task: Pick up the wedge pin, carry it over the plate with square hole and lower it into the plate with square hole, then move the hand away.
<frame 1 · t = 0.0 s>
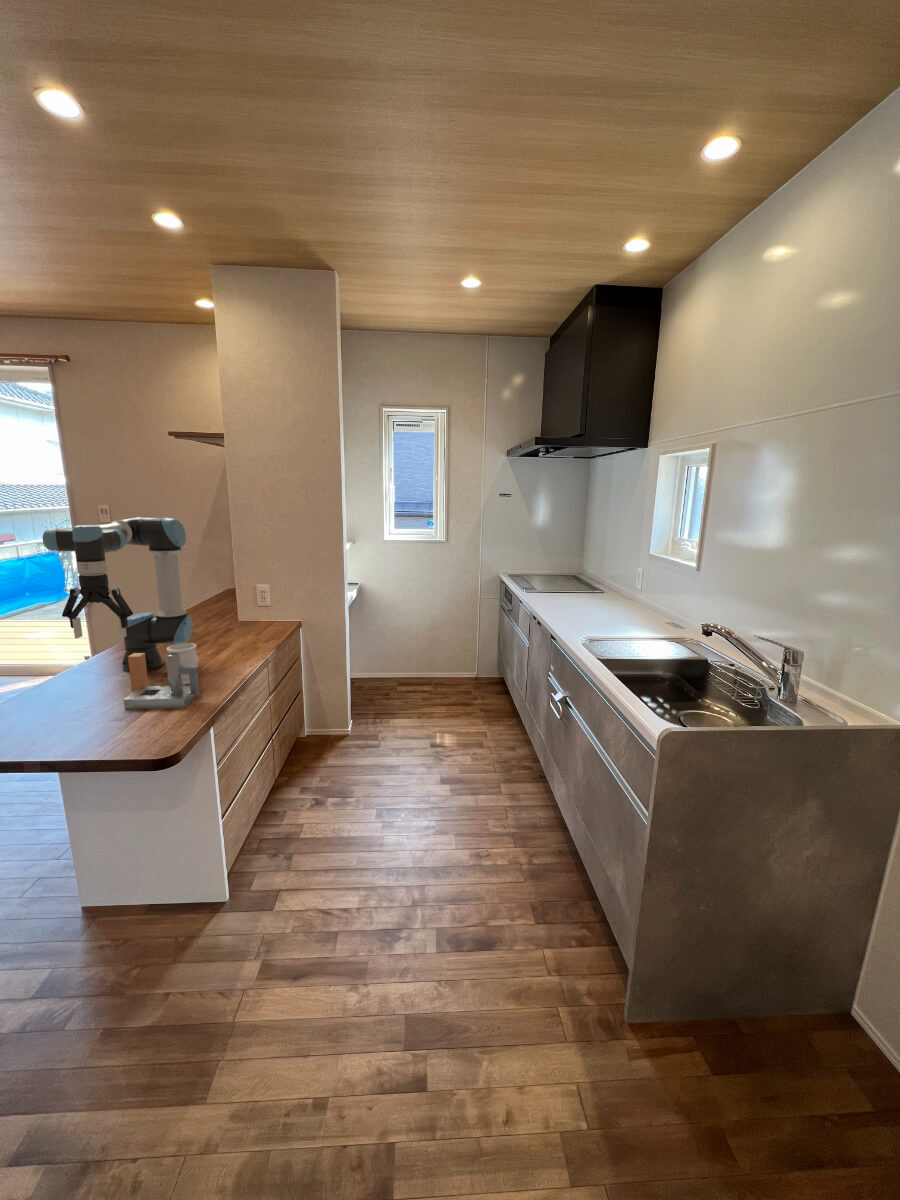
hand: (101, 637, 157), 28 cm above the worktop, fingers open, 13 cm apart
plate with square hole: (165, 701, 175), on the worktop
wedge pin: (140, 691, 182), on the worktop
jar: (184, 682, 194), on the worktop
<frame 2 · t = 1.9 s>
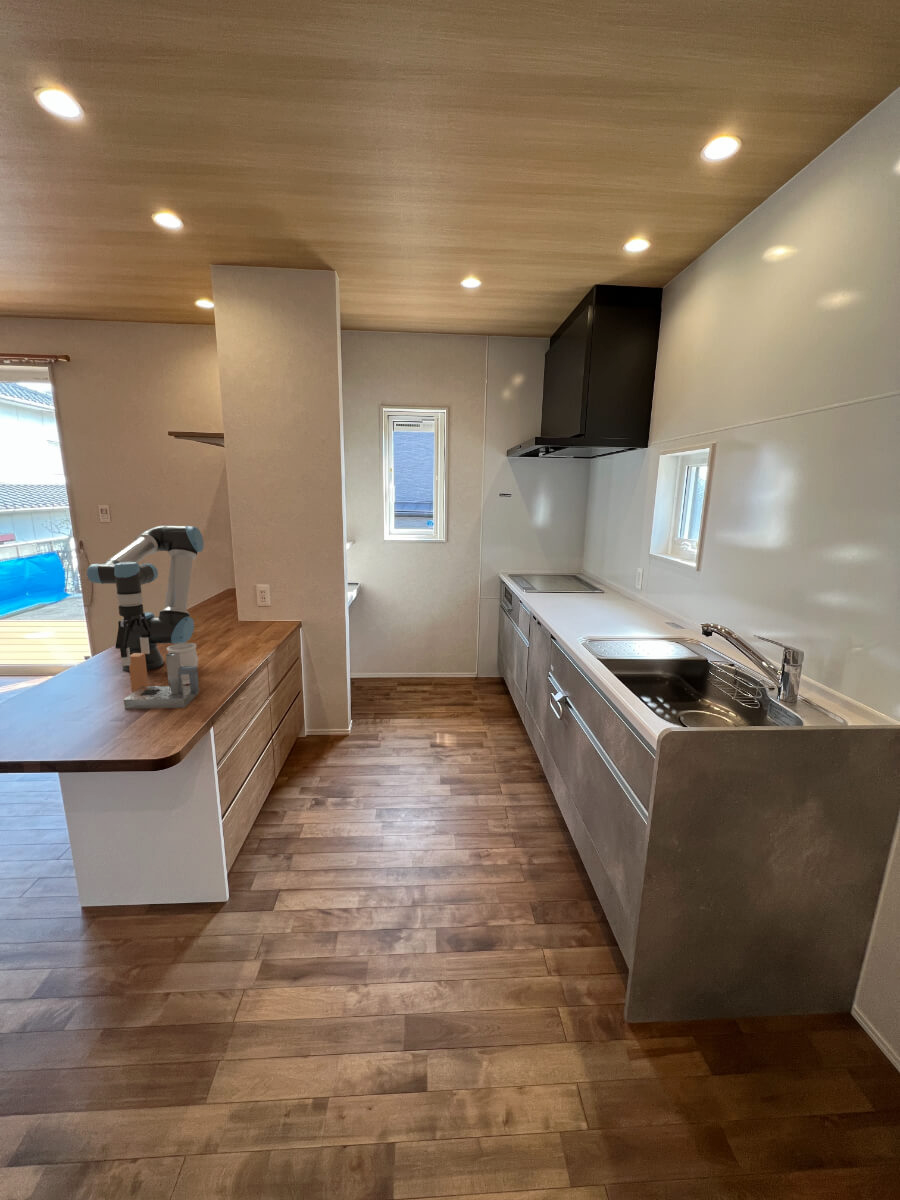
hand: (136, 659, 179), 13 cm above the worktop, fingers open, 13 cm apart
nothing on the worktop moved.
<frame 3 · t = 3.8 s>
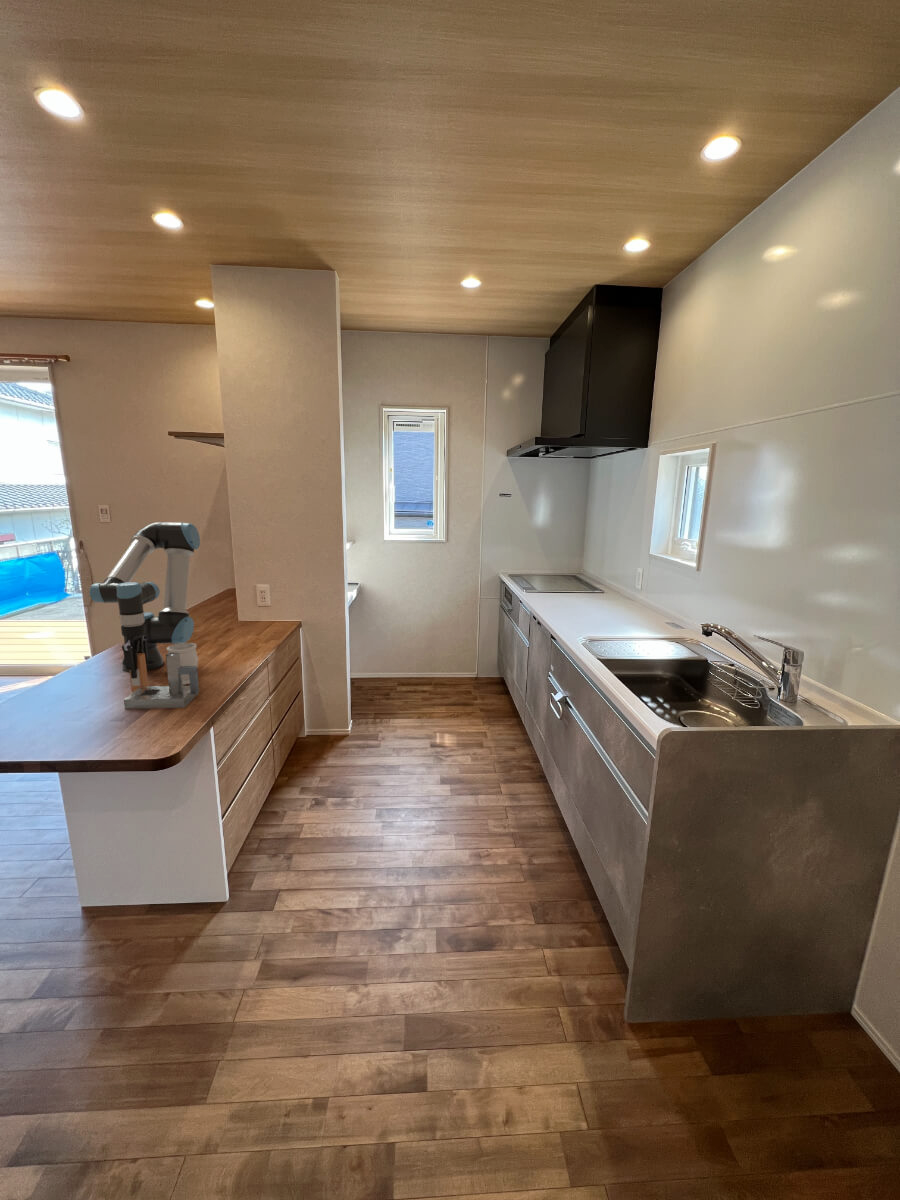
hand: (139, 682, 182), 4 cm above the worktop, fingers closed on wedge pin, 4 cm apart
wedge pin: (140, 691, 182), on the worktop, touching gripper
everything else where it was.
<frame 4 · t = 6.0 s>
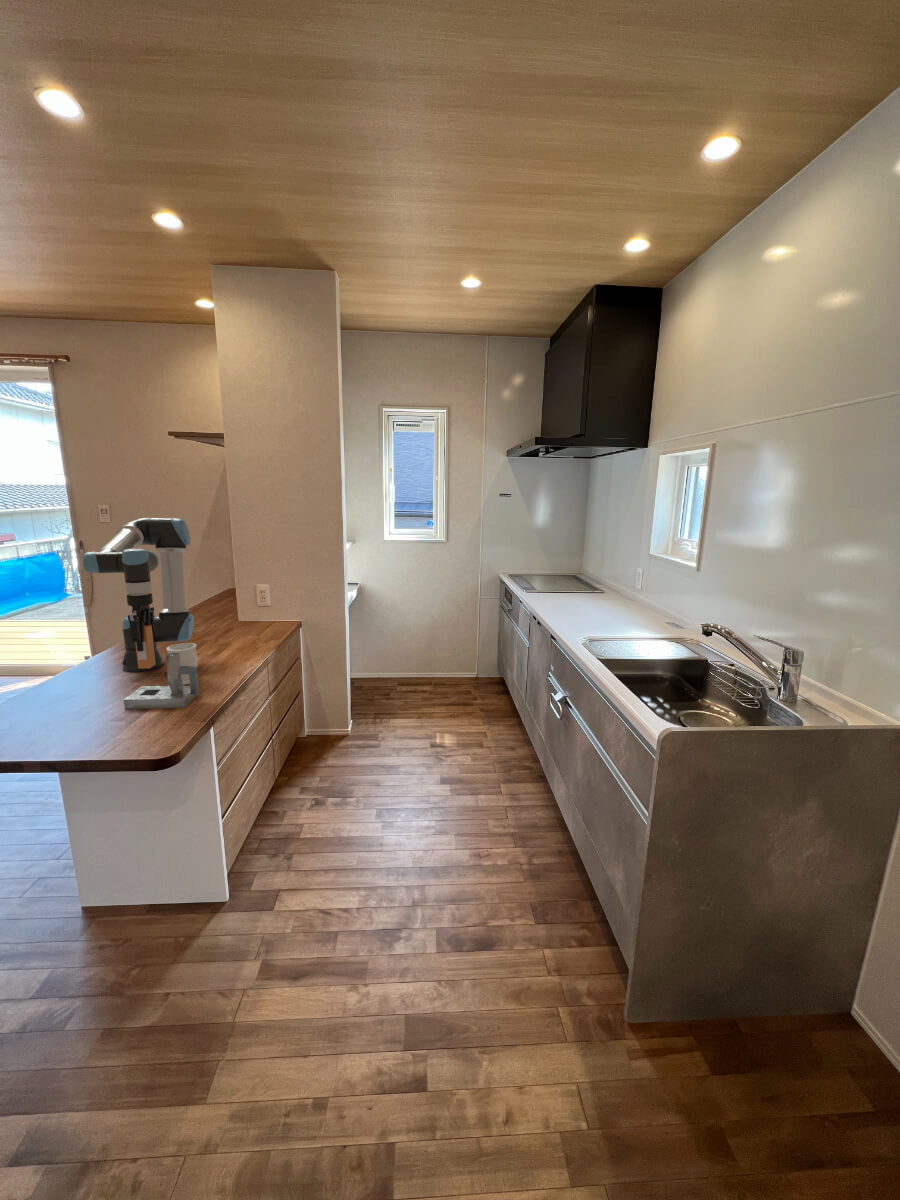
hand: (146, 656, 171), 17 cm above the worktop, fingers closed on wedge pin, 4 cm apart
wedge pin: (147, 666, 172), point 14 cm above the worktop, touching gripper
everything else where it was.
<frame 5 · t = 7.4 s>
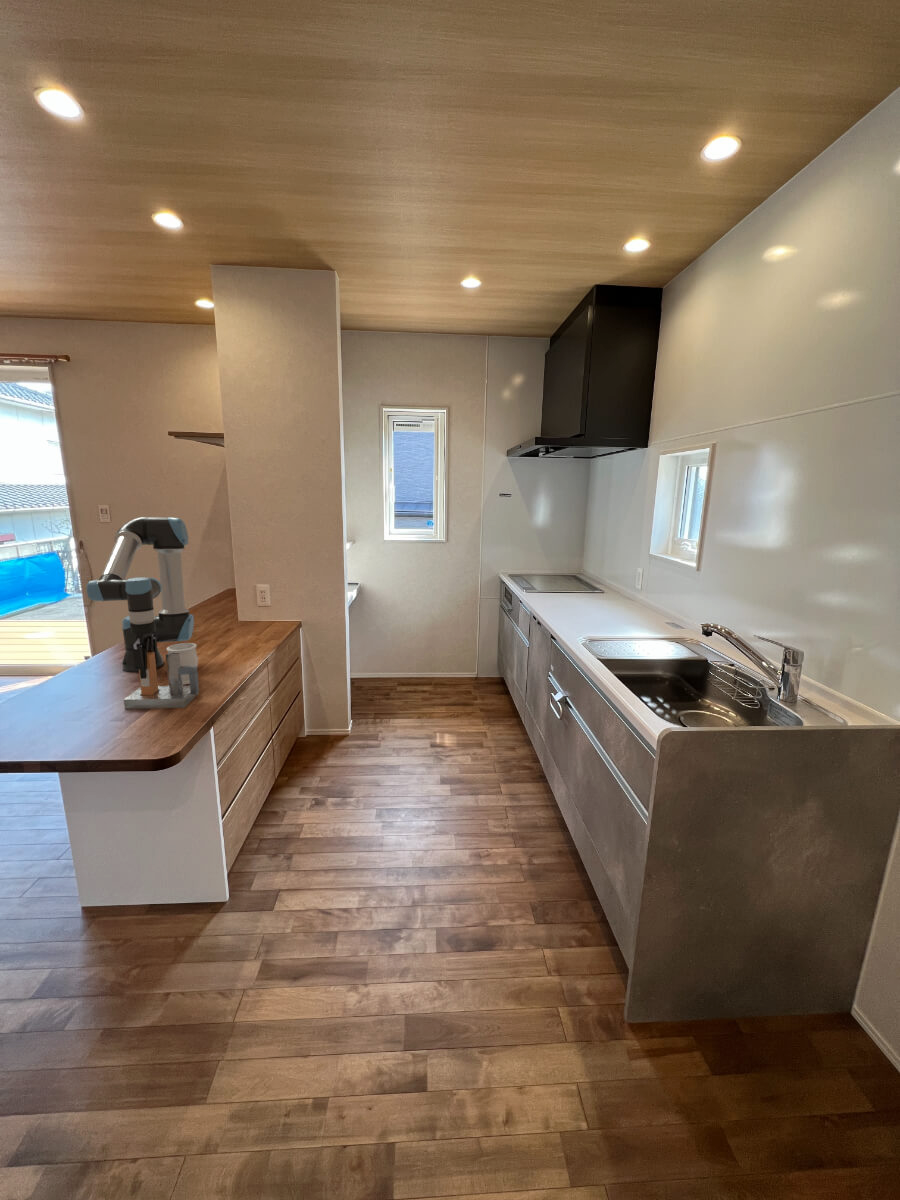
hand: (149, 683, 173), 7 cm above the worktop, fingers closed on wedge pin, 4 cm apart
wedge pin: (150, 692, 174), point 3 cm above the worktop, touching gripper
everything else where it was.
when the fingers open (4 cm above the worktop, at t = 8.5 s): wedge pin stays where it is, resting in plate with square hole.
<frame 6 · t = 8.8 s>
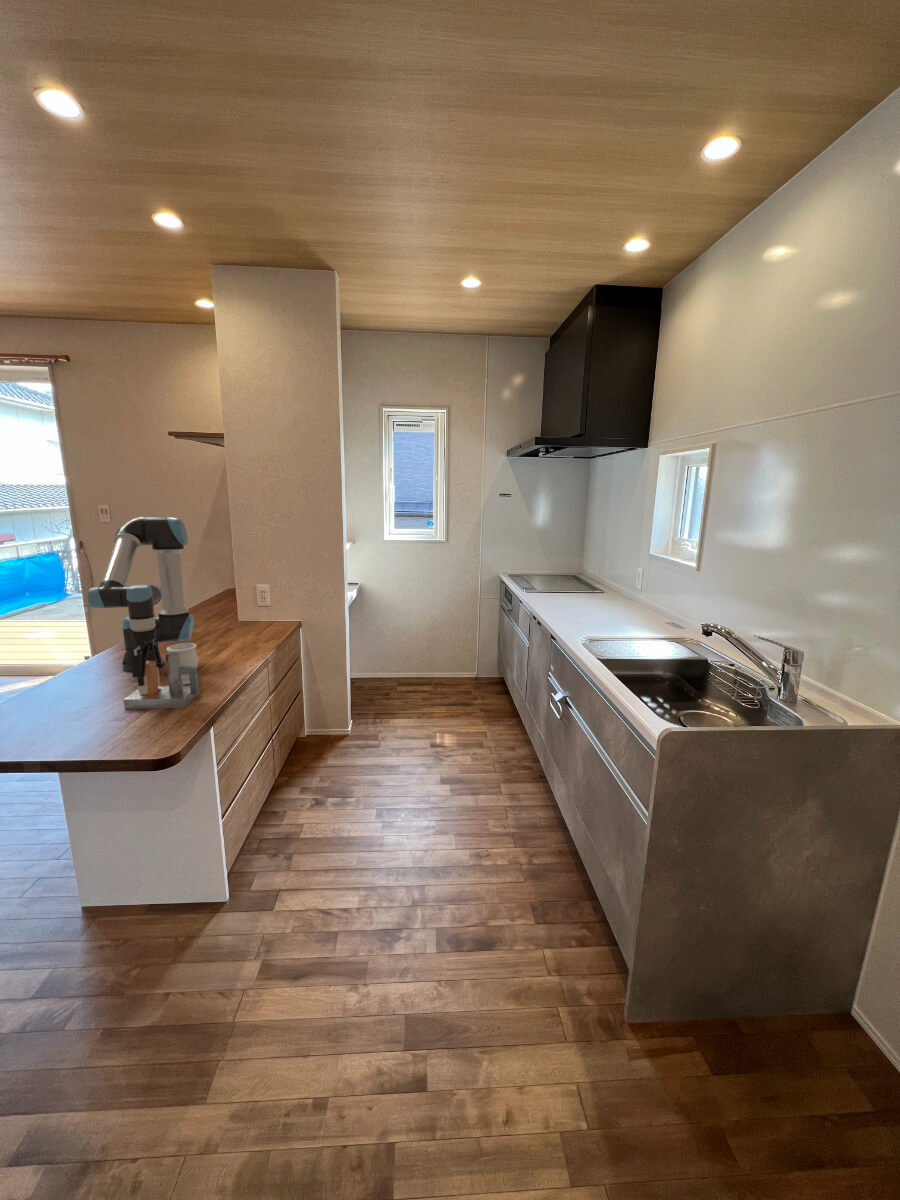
hand: (149, 688, 174), 5 cm above the worktop, fingers open, 8 cm apart
wedge pin: (151, 701, 175), resting in plate with square hole
everything else where it was.
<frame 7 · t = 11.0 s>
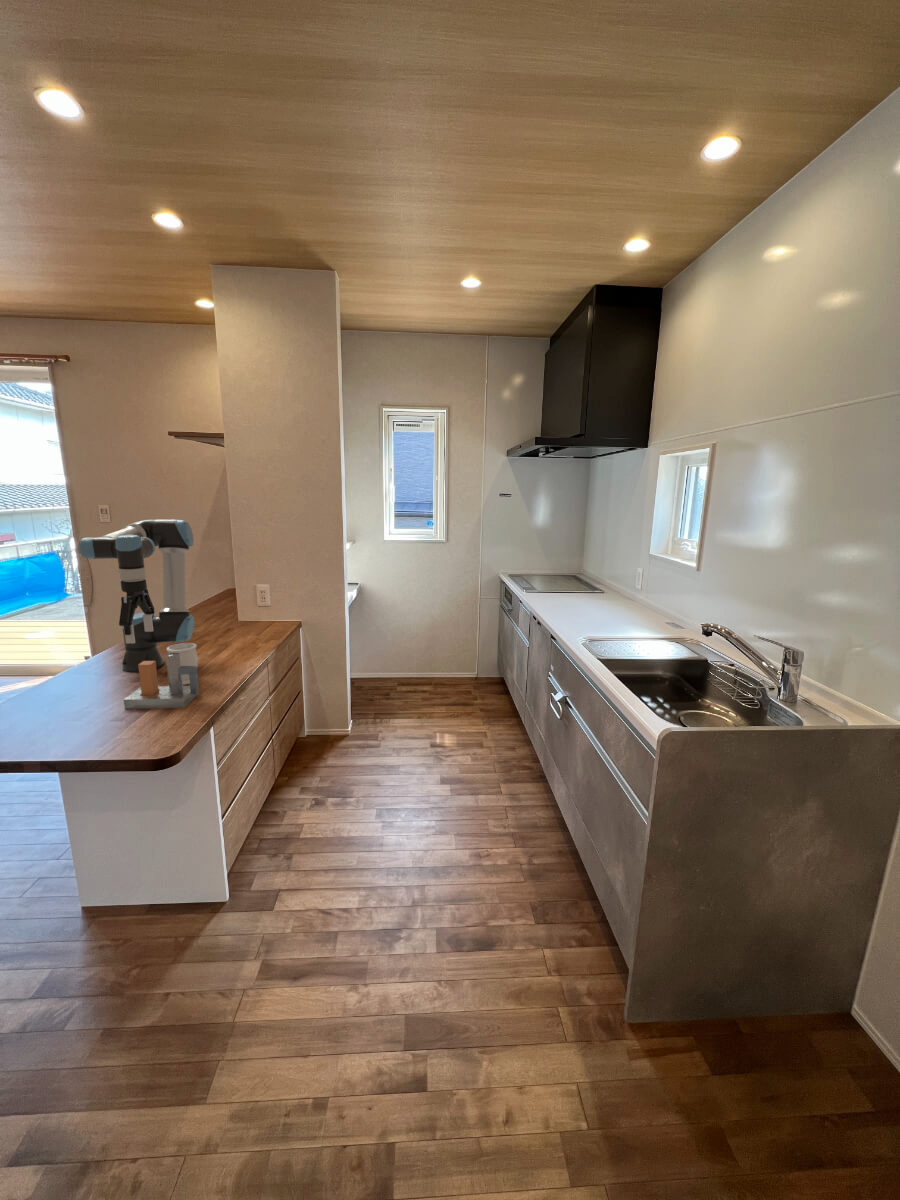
hand: (140, 637, 172), 24 cm above the worktop, fingers open, 13 cm apart
nothing on the worktop moved.
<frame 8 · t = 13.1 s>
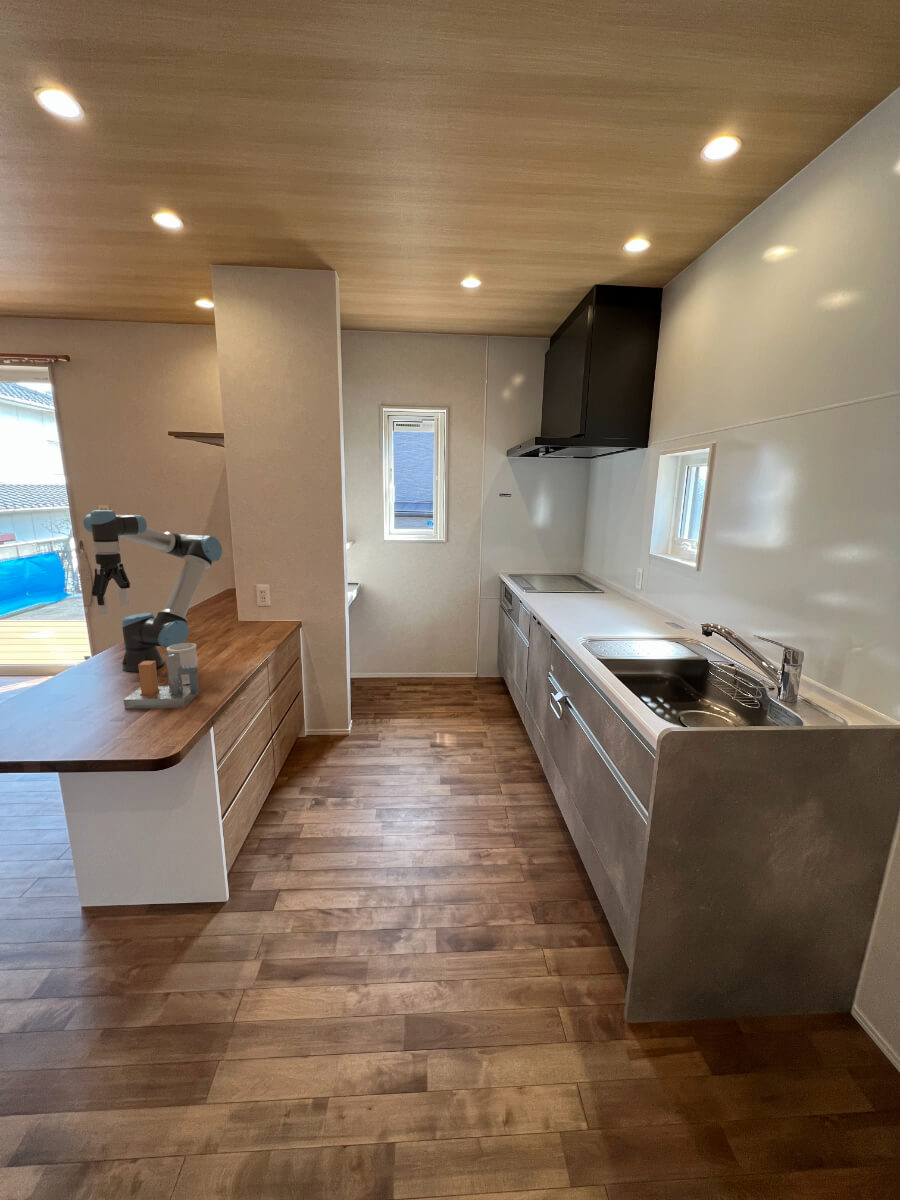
hand: (114, 609, 179), 32 cm above the worktop, fingers open, 13 cm apart
nothing on the worktop moved.
at the end: wedge pin 0.1 cm from the target spot on the plate with square hole, point 0.0 cm above the plate with square hole's base; wedge pin tilted 0°; the gripper is holding nothing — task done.
